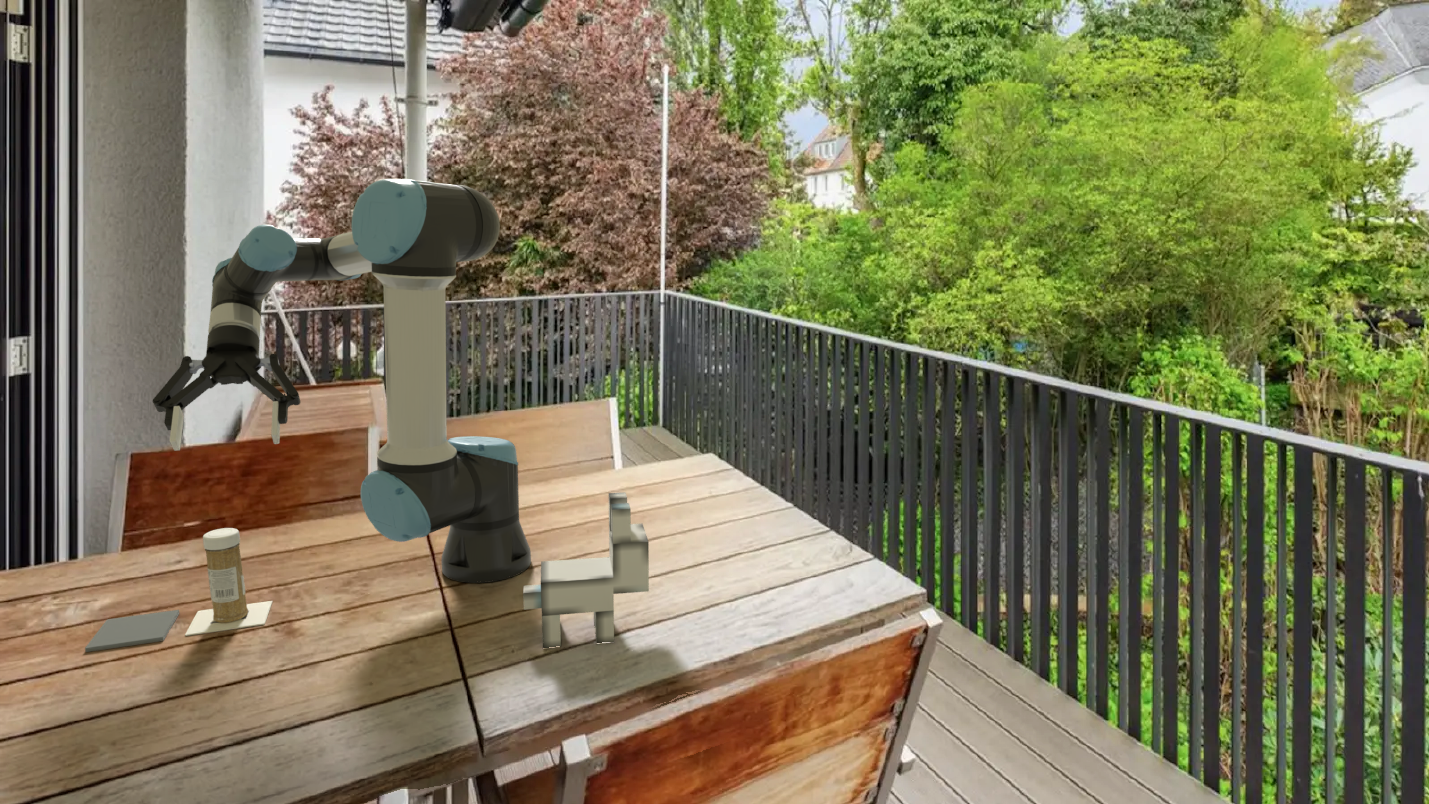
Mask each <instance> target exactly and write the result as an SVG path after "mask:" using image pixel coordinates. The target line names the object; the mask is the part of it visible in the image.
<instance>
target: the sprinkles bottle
mask: <svg viewBox="0 0 1429 804" xmlns="http://www.w3.org/2000/svg"><path fill="white" fill-rule="evenodd" d="M202 541H203V542H202V543H203V549H204V551H205V556H206V562H207V563H206V564H207V569H206V570H207V576H208V583H209V584H208V585H209V591H210V592H209V593H210V599H211V604H212V609H213V612H214V615H213V620H214V621H216V622H220V623H227V622H232V621H236V620H239V619H241V618H243V617H244V616H246V615H247V613H248V609H247V604H248V603H247V599H246V586H245V585H246V584H245V577H244V574H243V566H242V565H243V564H242V556H241V549H240V543H241V536H240V531H239V530H238V529H237V528H233V527H224V528H223V527H222V528H217V529H213V530H210V531H208V532H206V533H204V534H203V536H202Z"/></svg>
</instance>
